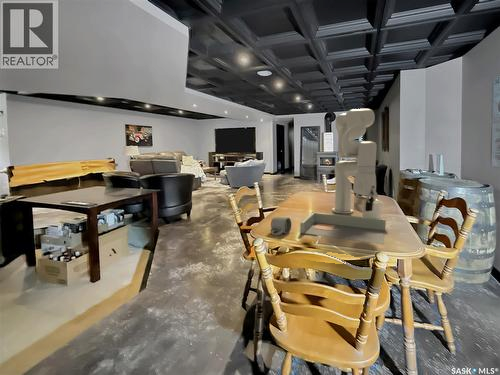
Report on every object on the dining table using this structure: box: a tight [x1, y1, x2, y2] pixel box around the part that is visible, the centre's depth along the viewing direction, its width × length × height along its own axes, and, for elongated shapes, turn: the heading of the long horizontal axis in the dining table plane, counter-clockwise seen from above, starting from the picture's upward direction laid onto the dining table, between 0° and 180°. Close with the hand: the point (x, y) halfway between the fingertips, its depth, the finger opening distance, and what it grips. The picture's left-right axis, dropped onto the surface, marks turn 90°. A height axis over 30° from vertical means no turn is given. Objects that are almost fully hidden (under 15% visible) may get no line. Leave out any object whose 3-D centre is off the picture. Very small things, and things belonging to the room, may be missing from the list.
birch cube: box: [353, 196, 374, 214], centre depth 126 cm, size 6×6×6 cm
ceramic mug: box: [270, 216, 292, 237], centre depth 134 cm, size 11×8×8 cm
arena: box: [299, 211, 387, 245], centre depth 134 cm, size 22×36×6 cm, turn 63°
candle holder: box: [362, 199, 384, 219], centre depth 146 cm, size 10×10×12 cm
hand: (363, 208), depth 127 cm, fingers closed on birch cube, 6 cm apart
